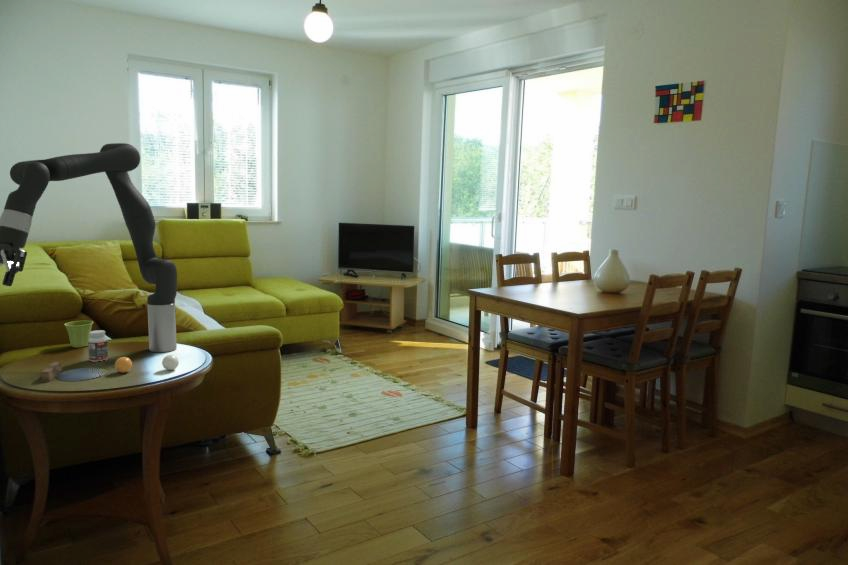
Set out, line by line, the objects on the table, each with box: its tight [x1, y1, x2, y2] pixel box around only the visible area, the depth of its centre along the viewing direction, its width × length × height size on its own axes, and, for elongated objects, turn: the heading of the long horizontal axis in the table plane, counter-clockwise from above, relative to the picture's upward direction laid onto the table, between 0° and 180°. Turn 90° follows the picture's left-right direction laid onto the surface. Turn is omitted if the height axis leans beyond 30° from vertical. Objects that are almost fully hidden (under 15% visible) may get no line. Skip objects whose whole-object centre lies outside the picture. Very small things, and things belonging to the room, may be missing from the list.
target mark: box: [55, 367, 108, 382], centre depth 194 cm, size 14×14×1 cm
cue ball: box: [161, 354, 180, 371], centre depth 201 cm, size 5×5×5 cm
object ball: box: [114, 356, 133, 374], centre depth 197 cm, size 5×5×5 cm
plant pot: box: [64, 320, 94, 349], centre depth 228 cm, size 9×9×9 cm
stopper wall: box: [40, 360, 62, 383], centre depth 192 cm, size 12×2×3 cm, turn 15°
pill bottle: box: [88, 329, 109, 363], centre depth 210 cm, size 6×6×10 cm
